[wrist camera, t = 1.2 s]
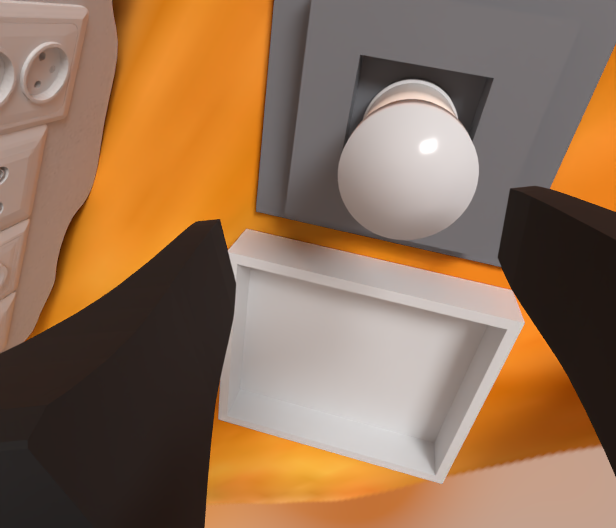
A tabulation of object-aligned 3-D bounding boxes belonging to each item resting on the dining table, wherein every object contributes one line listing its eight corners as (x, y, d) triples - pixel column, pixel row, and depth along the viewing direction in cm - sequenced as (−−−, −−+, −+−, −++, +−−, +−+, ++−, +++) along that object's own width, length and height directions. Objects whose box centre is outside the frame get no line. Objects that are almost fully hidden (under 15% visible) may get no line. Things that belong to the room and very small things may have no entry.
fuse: (469, 86, 19) (500, 121, 12) (440, 178, 21) (453, 252, 14) (374, 69, 19) (351, 92, 12) (355, 161, 21) (327, 224, 14)
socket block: (630, 0, 16) (656, -2, 15) (511, 265, 22) (519, 285, 21) (281, -52, 18) (267, -60, 16) (258, 208, 24) (246, 222, 22)
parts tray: (512, 290, 23) (524, 323, 21) (439, 444, 30) (442, 484, 27) (246, 228, 25) (226, 251, 22) (234, 387, 32) (218, 419, 29)
